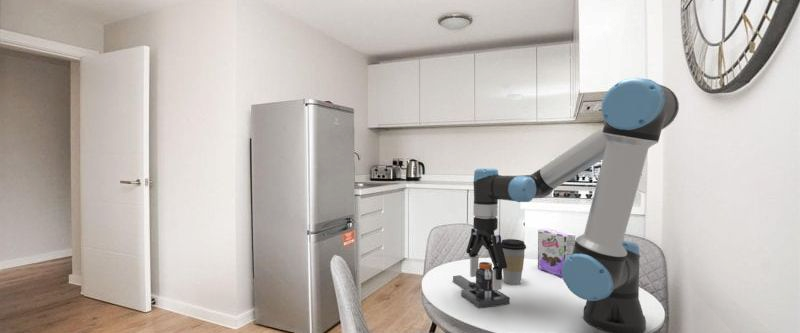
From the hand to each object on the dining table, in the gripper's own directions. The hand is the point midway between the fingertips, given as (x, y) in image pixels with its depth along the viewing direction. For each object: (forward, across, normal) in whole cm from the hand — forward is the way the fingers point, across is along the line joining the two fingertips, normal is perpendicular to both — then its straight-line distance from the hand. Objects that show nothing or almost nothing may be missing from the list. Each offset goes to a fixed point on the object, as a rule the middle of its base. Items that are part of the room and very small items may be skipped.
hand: (485, 282), depth 122 cm
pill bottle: (+5, 0, 0) cm, 5 cm away
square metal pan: (+6, +7, 0) cm, 9 cm away
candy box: (+6, +16, -42) cm, 45 cm away
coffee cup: (+6, +12, -19) cm, 23 cm away
